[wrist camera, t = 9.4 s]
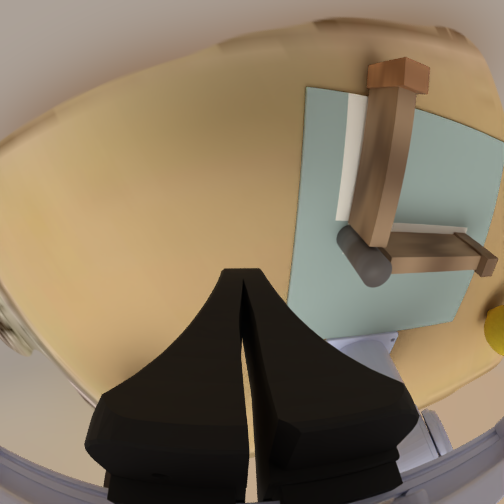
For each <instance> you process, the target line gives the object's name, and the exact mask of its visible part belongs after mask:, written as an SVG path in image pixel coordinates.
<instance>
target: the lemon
mask: <svg viewBox="0 0 504 504" xmlns="http://www.w3.org/2000/svg"><path fill="white" fill-rule="evenodd" d="M484 333H485V337H486V340H487V342H488V343H489V345H490V346H491V347H492V349H493V350H494V351H496V352H497V353H498V354H500V355H502V356H504V305H501V306H497V307H496V308H494V309H490V310H489V311H488V312H487V318H486V320H485V325H484Z"/></svg>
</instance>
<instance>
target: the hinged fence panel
mask: <svg viewBox="0 0 504 504" xmlns="http://www.w3.org/2000/svg"><path fill="white" fill-rule="evenodd" d="M429 74H430V67H428V66H426V65H423V64H421V63H419V62H416V61H414V60H412V59H409V58H407V57H404V58H398V59H394V60H389V61H384V62H380V63H376V64H372V65H369V66H368V78H367V88H369V97H368V106H367V114H366V122H365V129H364V137H363V143H362V150H361V156H360V162H359V168H358V174H357V179H356V185H355V190H354V195H353V200H352V205H351V210H350V215H349V220H348V223H349V224H350V226H351V227H352V228H353V229H354V230H355V231H356V232H357V233H358V234H359V235H360V237H361V238H362V239H363V240H364V241H365V242H366V243H367V244H368V246H369V247H384V248H386V247H387V243H388V240H389V236H390V233H391V229H392V225H393V222H394V218H395V214H396V210H397V206H398V202H399V197H400V193H401V189H402V184H403V179H404V174H405V169H406V164H407V159H408V153H409V148H410V141H411V135H412V128H413V121H414V113H415V104H416V95H417V94H428V88H429Z"/></svg>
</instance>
